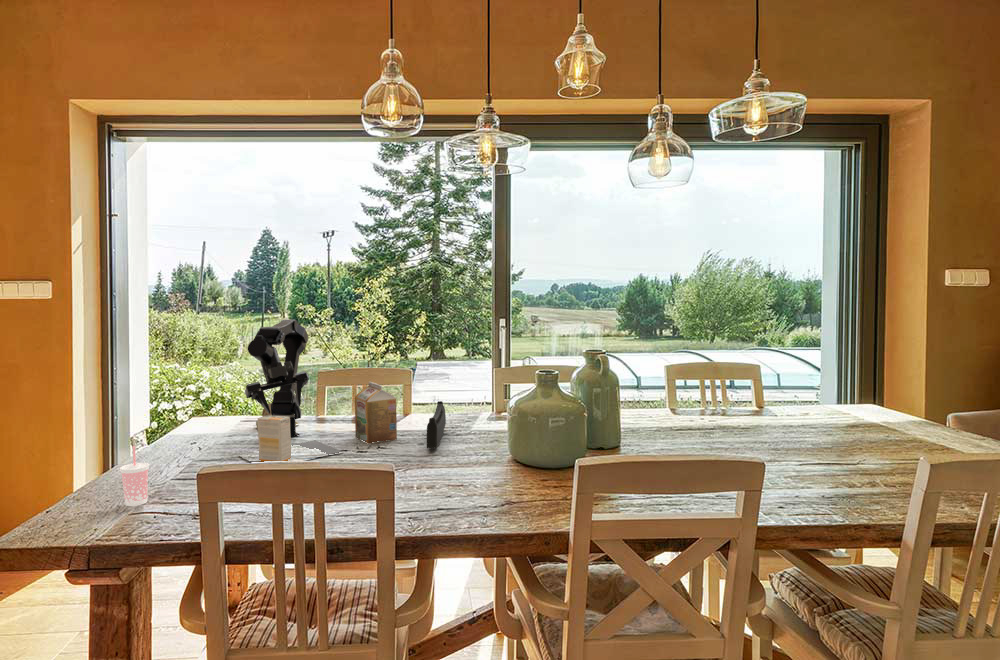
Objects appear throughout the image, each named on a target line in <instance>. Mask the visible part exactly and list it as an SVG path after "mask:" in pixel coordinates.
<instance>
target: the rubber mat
mask: <svg viewBox="0 0 1000 660" xmlns="http://www.w3.org/2000/svg"><path fill="white" fill-rule="evenodd" d="M291 445H292V446H293V445H300V446H302V447H306V448H309V449H314V448H316V449H319V450H321V452H324V453H325V452H326V454H328V455H329V454H335V453H339V452H343V453H344V451H343V450H340V449H337V448H335V447H332V446H331V445H328V444H325V443H323V442H321V441H318V440H316V439H315V440H314V439H313V440H308V441H304V442H303V441H302V442H297V443H293V444H292V443H291ZM250 462H260V461H250ZM250 462H249V463H250Z"/></svg>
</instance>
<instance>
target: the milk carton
mask: <svg viewBox="0 0 1000 660" xmlns="http://www.w3.org/2000/svg"><path fill="white" fill-rule="evenodd" d="M397 415H398V414H397V398H396V396H394V395H393V394H391V393H389V392H388V391H386V390H384V389H383V385H381V384H378V383H376V382H372V381H368V385H367V386H366V387H365V388H363V389H362V390H361V391H359V392H358V393H356V395H355V396H354V419H355V421H354V422H355V425H354V426H355V427H354V428H355V430H354V432H355V438H356V437H357V438H358V440H359V439H361V440H363V441H365V442H367V443H371V444H373V443H372V442H377V441H384V442H387V441H386V440H390V441H395V439H396V440H397V439H398V438H397V437H398V435H397V433H398V432H397V431H398V430H397V429H398V426H397V424H398V423H397ZM357 438H356V439H357ZM361 440H360V441H361ZM363 441H362V442H363ZM365 442H364V443H365ZM367 443H366V444H367ZM377 443H378V442H377Z"/></svg>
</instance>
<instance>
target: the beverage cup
mask: <svg viewBox="0 0 1000 660" xmlns="http://www.w3.org/2000/svg"><path fill="white" fill-rule="evenodd" d="M136 458H137V457H136V445H132V459H133V461H132V462H133V463H132V462H131V463H128V464H127V463H126V464H125V465H122V466H120V467H119V471H120V472H119V473H121V480H122V489H123V497H124V505H125V506H127V507H136V506H141V505H143V504H146V503H147V502H148V491H149V489H148V488H149V486H148V485H149V484H148V483H149V469H150V463H148V462H137V461H136Z"/></svg>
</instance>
